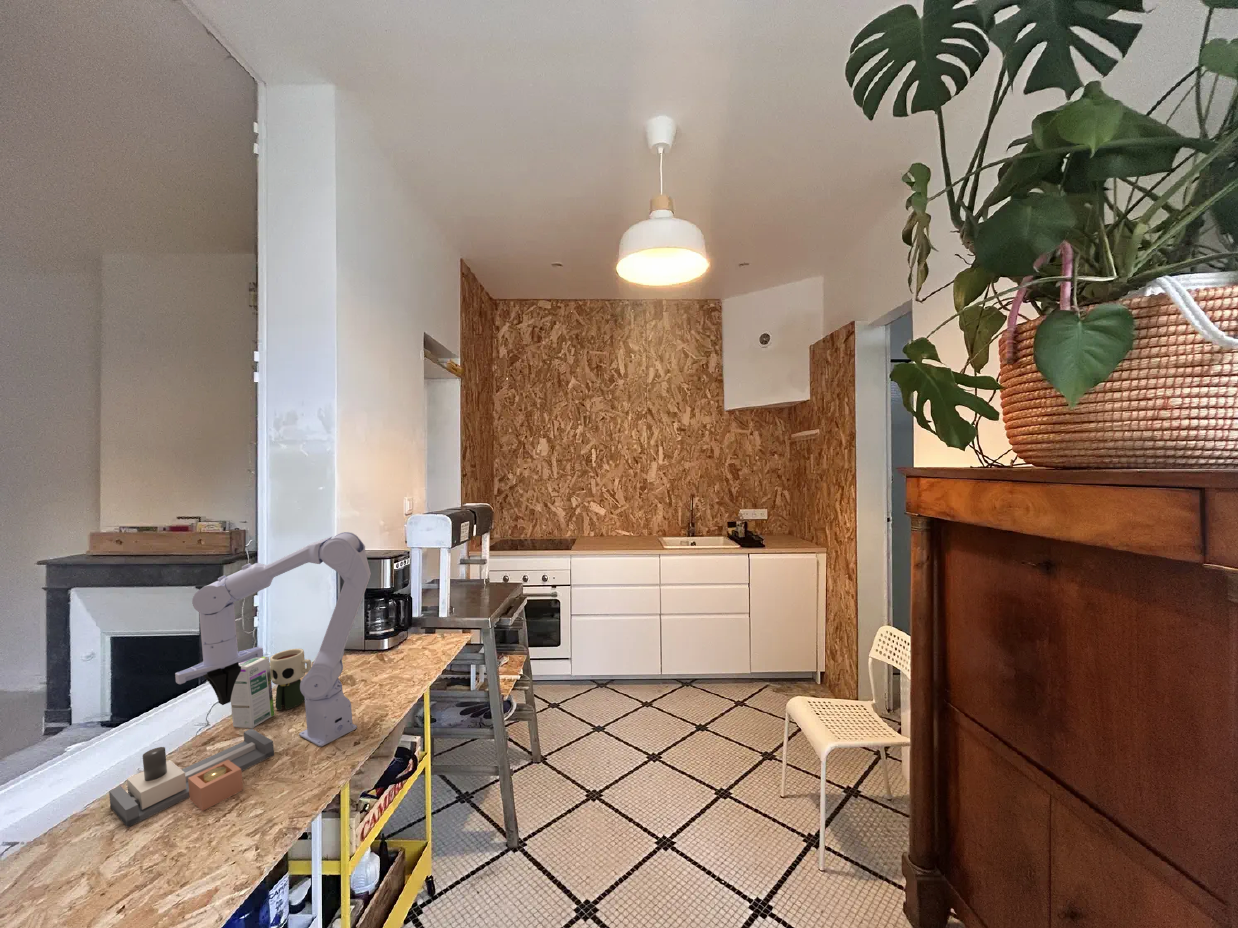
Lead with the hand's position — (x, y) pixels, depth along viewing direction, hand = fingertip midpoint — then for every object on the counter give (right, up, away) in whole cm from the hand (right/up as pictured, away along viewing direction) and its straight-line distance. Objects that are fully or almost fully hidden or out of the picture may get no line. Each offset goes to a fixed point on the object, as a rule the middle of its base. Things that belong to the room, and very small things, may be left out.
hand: (224, 702), depth 104 cm
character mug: (+2, -10, +19) cm, 21 cm away
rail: (+2, -11, -9) cm, 14 cm away
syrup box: (-3, -10, +12) cm, 16 cm away
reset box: (+10, -10, -14) cm, 20 cm away
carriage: (-1, -10, -14) cm, 17 cm away
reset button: (+9, -9, -14) cm, 19 cm away
